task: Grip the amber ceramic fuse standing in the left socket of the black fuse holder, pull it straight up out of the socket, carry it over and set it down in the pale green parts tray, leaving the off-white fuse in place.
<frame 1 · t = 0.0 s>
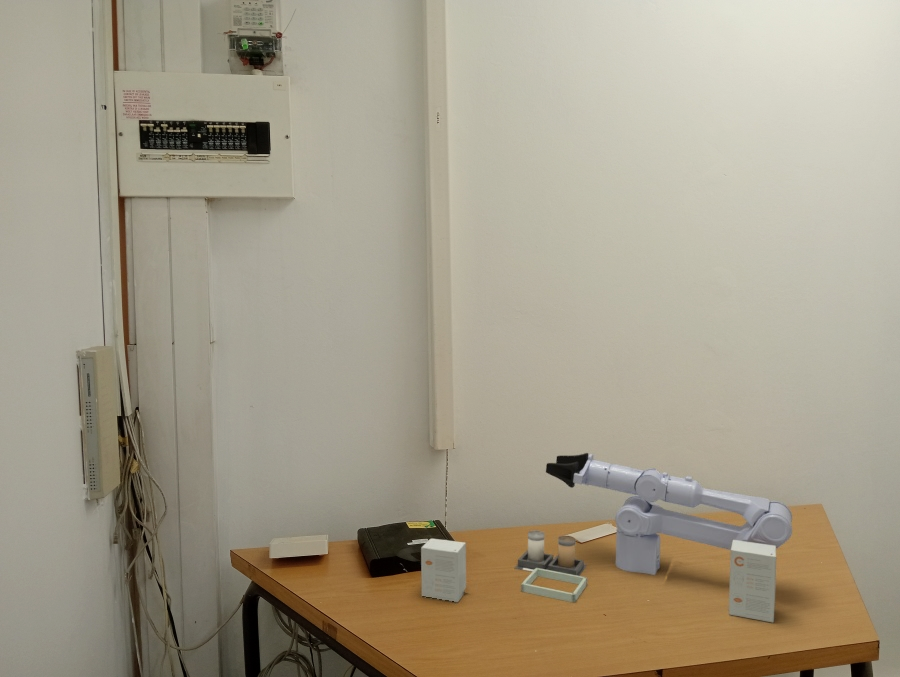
hand: (551, 463, 164), 22 cm above the table, tool horizontal, fingers open, 7 cm apart
blown fuse: (566, 569, 154), point 1 cm above the table, touching fuse holder
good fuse: (535, 563, 158), point 1 cm above the table, touching fuse holder
small box 2: (751, 613, 137), on the table
fuse holder: (550, 571, 156), on the table
small box: (443, 595, 144), on the table
parts tray: (554, 592, 145), on the table
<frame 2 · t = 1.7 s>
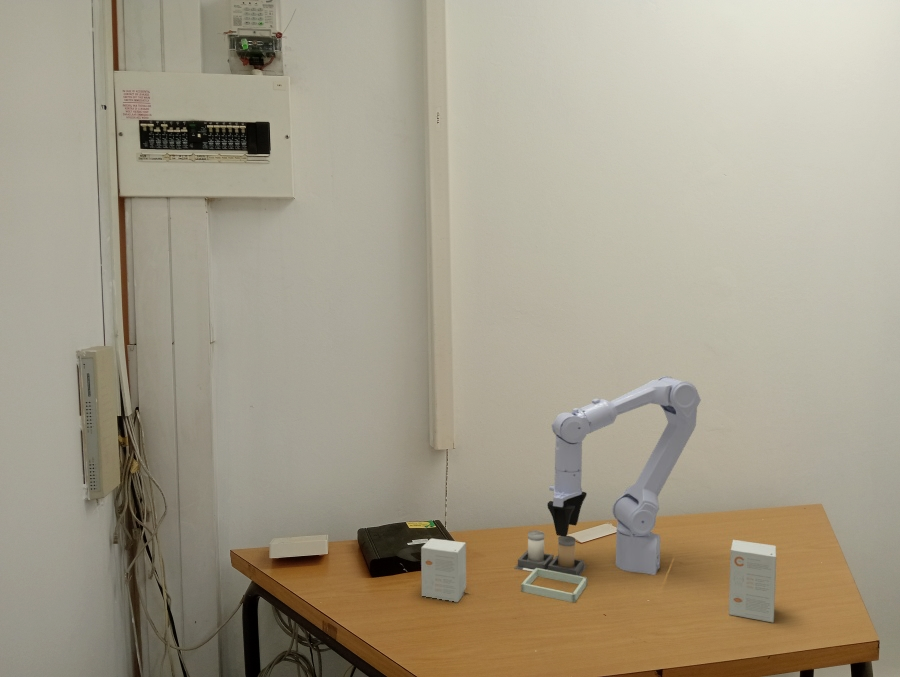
hand: (566, 529, 154), 10 cm above the table, tool pointing down, fingers open, 7 cm apart
nothing on the table moved.
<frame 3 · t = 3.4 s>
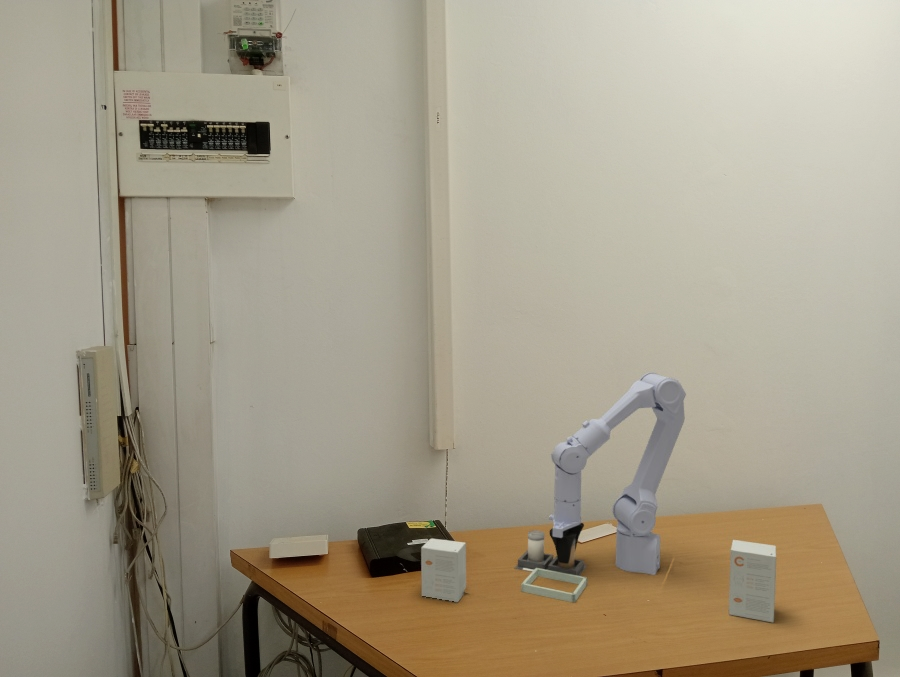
hand: (566, 559, 154), 3 cm above the table, tool pointing down, fingers closed on blown fuse, 4 cm apart
blown fuse: (566, 569, 154), point 1 cm above the table, touching fuse holder, gripper
everything else where it was.
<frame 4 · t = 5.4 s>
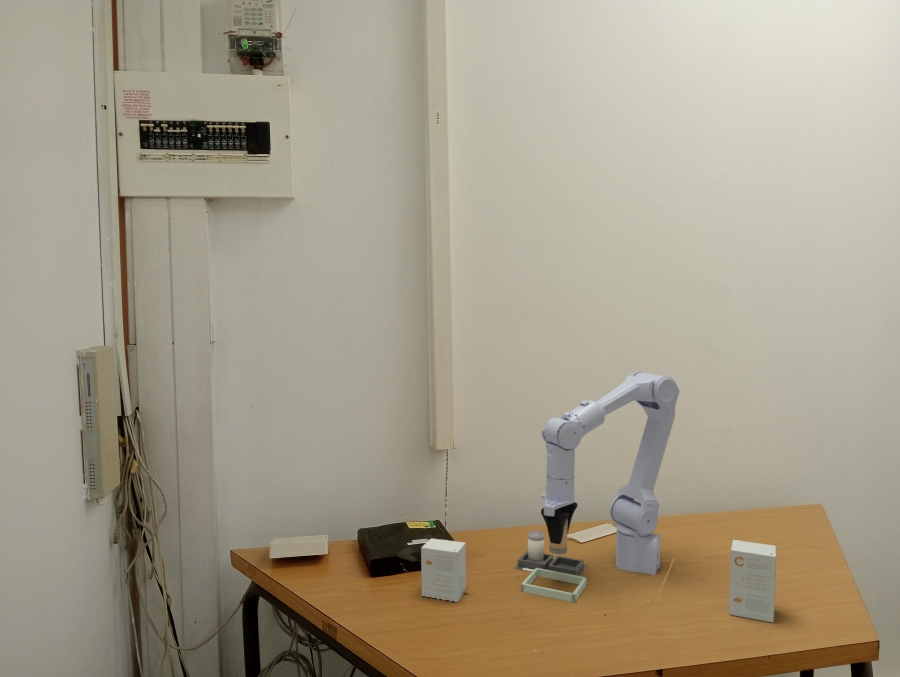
hand: (558, 539, 148), 10 cm above the table, tool pointing down, fingers closed on blown fuse, 4 cm apart
blown fuse: (558, 550, 148), point 8 cm above the table, touching gripper
everything else where it was.
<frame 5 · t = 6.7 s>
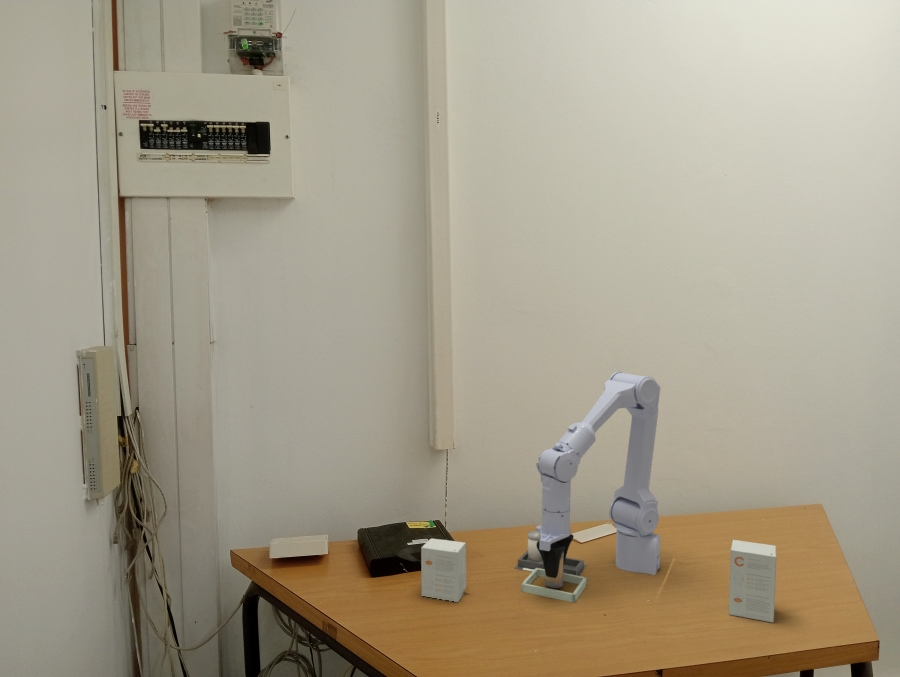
hand: (554, 572, 145), 4 cm above the table, tool pointing down, fingers closed on blown fuse, 4 cm apart
blown fuse: (554, 584, 145), point 2 cm above the table, touching gripper
everything else where it was.
when the fingers open (4 cm above the table, at t = 7.5 s): blown fuse stays where it is, resting on parts tray.
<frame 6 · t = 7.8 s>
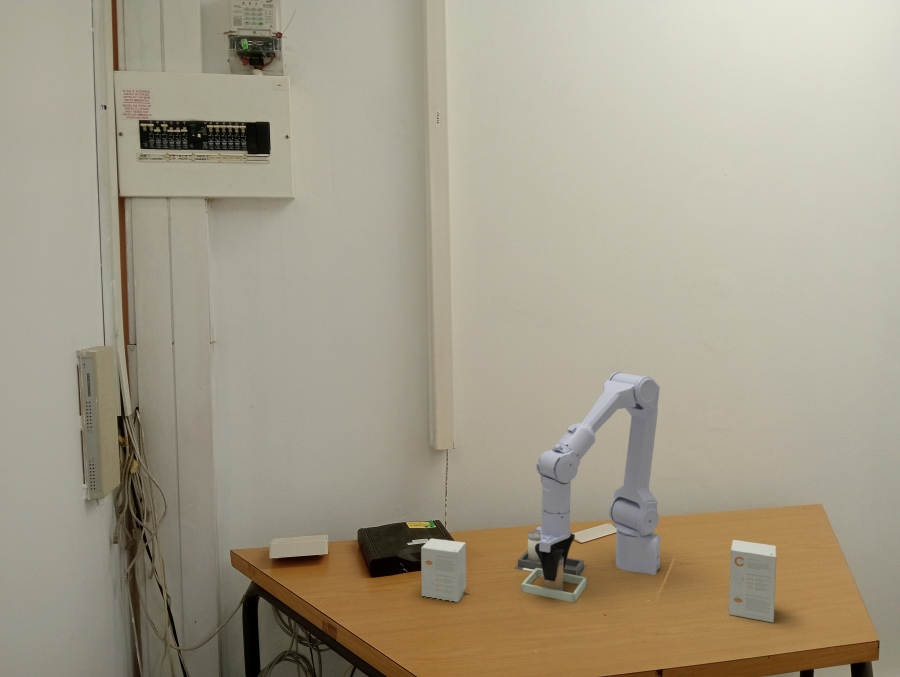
hand: (554, 574, 145), 4 cm above the table, tool pointing down, fingers open, 6 cm apart
blown fuse: (553, 590, 145), point 1 cm above the table, touching parts tray
everything else where it was.
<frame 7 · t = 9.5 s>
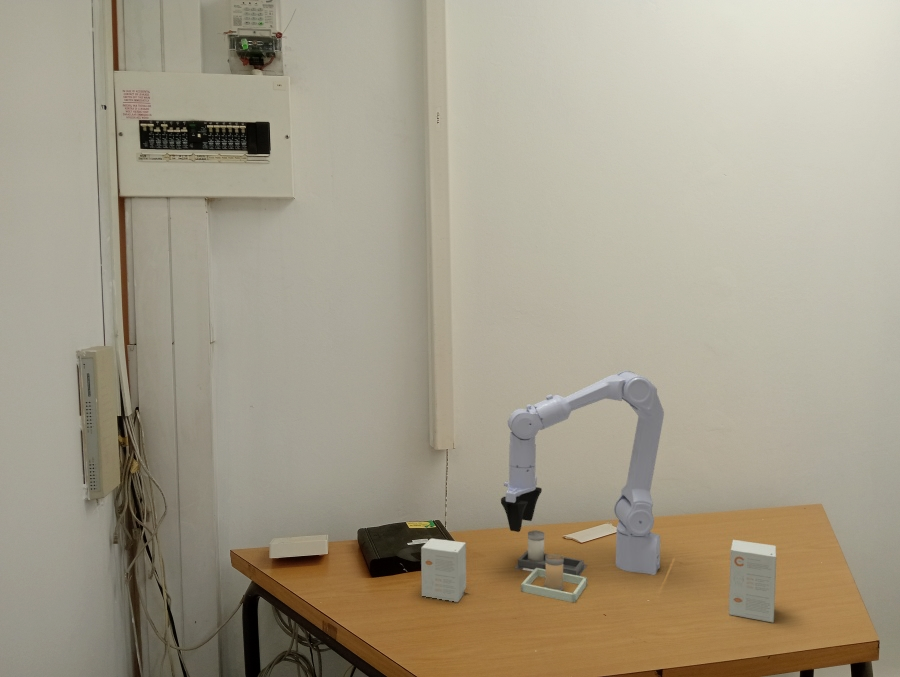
hand: (521, 525, 155), 10 cm above the table, tool pointing down, fingers open, 7 cm apart
nothing on the table moved.
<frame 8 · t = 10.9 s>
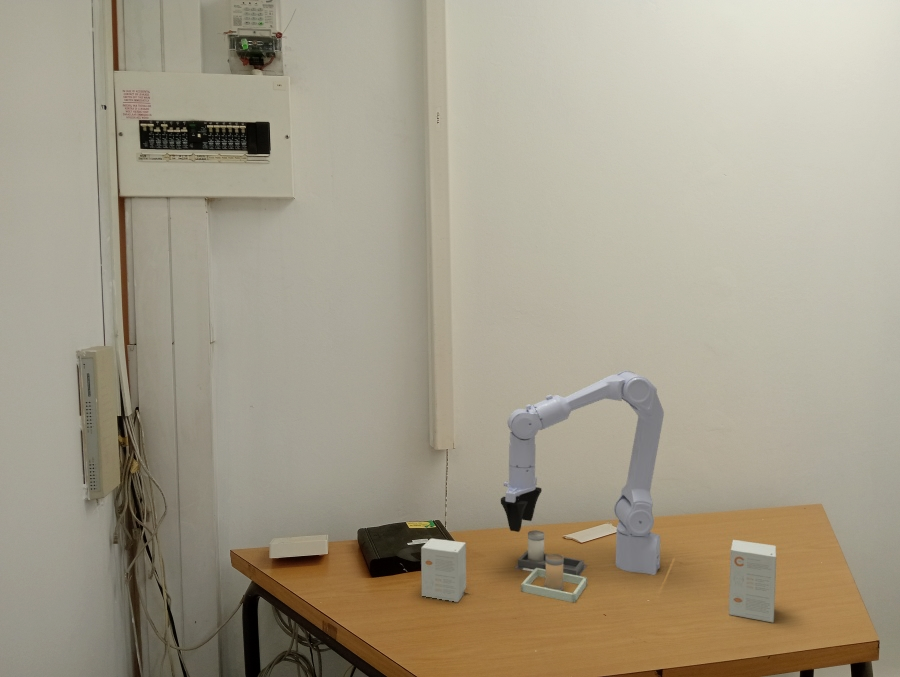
hand: (521, 525, 155), 10 cm above the table, tool pointing down, fingers open, 7 cm apart
nothing on the table moved.
at the end: blown fuse inside the target area on the parts tray (0.1 cm from its centre), point 0.5 cm above the parts tray's base; the gripper is holding nothing; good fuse moved 0.1 cm from its start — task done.
